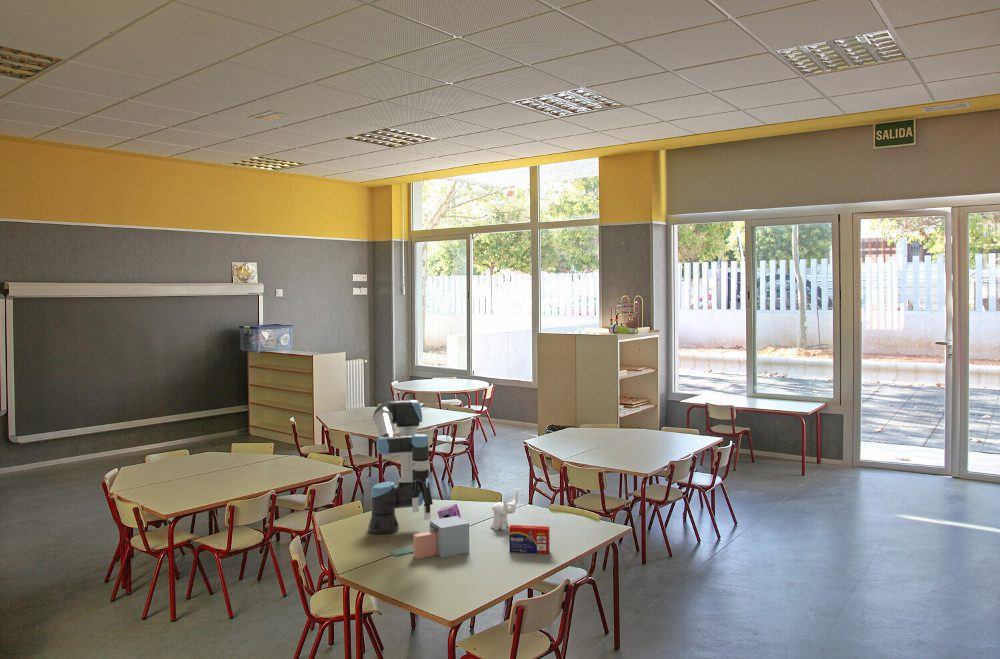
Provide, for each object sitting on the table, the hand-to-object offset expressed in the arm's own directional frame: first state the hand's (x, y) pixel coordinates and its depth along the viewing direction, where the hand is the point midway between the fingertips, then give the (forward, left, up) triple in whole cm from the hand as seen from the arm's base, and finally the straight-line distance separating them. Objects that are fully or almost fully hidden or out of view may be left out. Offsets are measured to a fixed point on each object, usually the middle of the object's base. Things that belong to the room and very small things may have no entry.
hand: (421, 515), depth 329 cm
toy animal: (-17, +52, -19) cm, 58 cm away
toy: (-19, +24, -19) cm, 36 cm away
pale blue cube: (0, +14, -18) cm, 23 cm away
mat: (-9, -2, -18) cm, 21 cm away
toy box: (+20, +45, -19) cm, 52 cm away
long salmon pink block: (0, +5, -19) cm, 19 cm away
